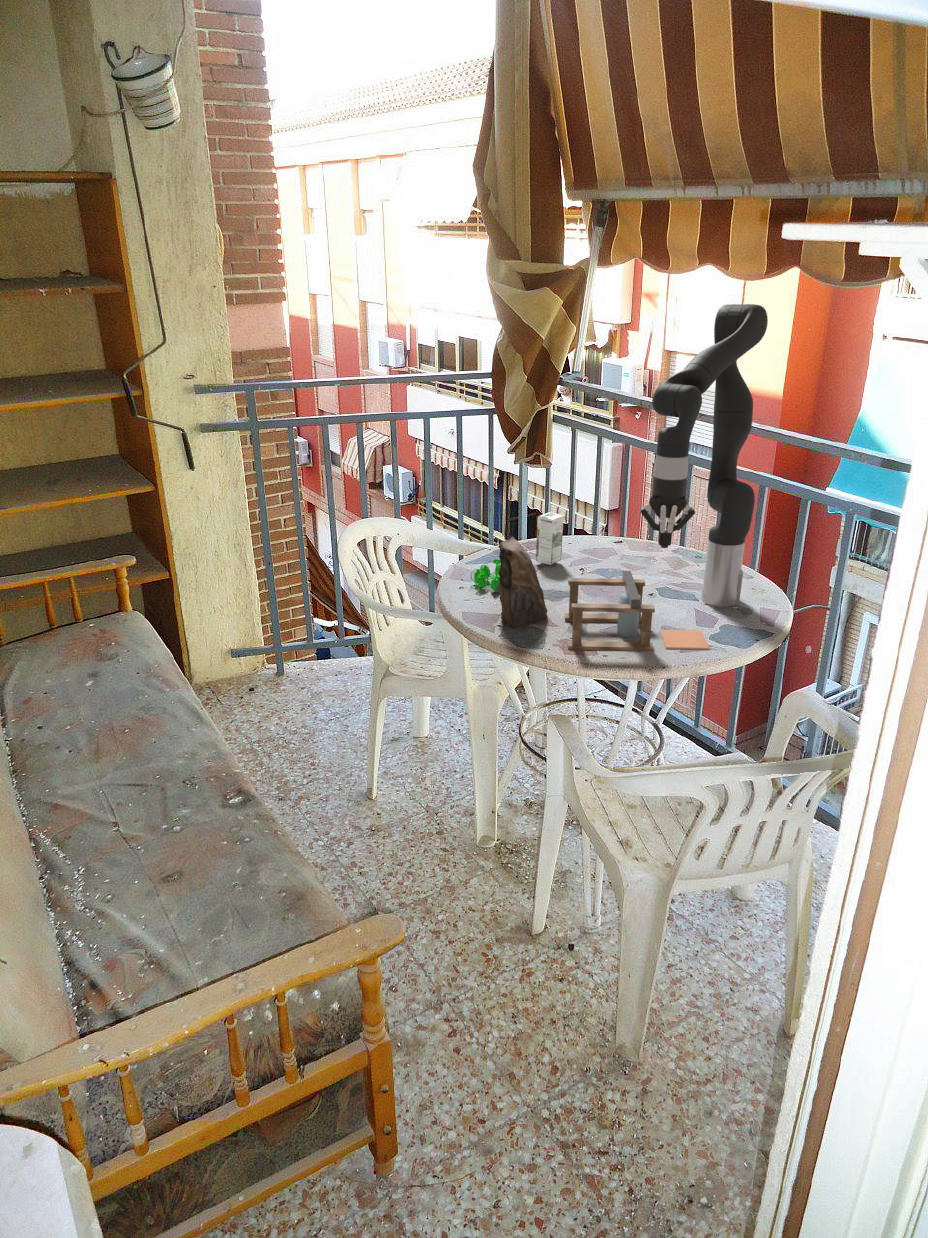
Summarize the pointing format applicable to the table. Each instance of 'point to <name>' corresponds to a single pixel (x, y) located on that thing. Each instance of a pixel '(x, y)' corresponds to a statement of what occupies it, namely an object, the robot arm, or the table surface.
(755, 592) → the table surface
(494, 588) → the chandelier
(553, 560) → the syrup box
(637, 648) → the gantry
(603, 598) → the table surface
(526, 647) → the table surface
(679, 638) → the terracotta tile
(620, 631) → the grey-blue cylinder
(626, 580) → the bar
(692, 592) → the table surface
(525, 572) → the brown pointed rock
